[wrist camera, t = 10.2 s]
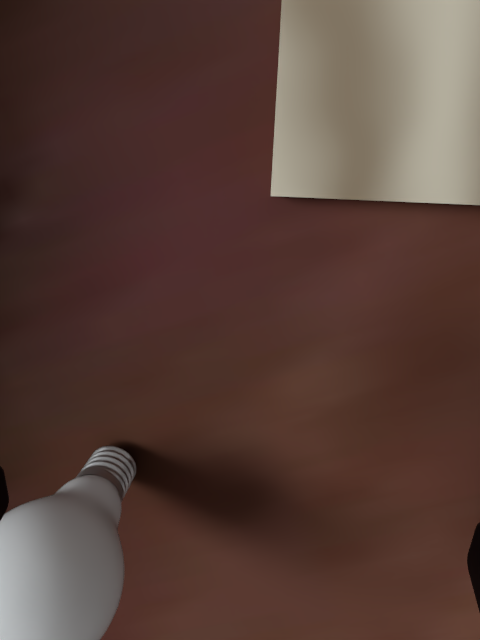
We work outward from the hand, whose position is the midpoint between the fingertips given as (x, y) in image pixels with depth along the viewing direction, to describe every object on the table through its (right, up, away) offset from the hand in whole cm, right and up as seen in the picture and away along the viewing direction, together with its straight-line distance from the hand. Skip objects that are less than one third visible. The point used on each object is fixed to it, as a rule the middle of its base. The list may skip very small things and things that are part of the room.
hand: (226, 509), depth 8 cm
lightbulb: (-7, -4, +17) cm, 18 cm away
